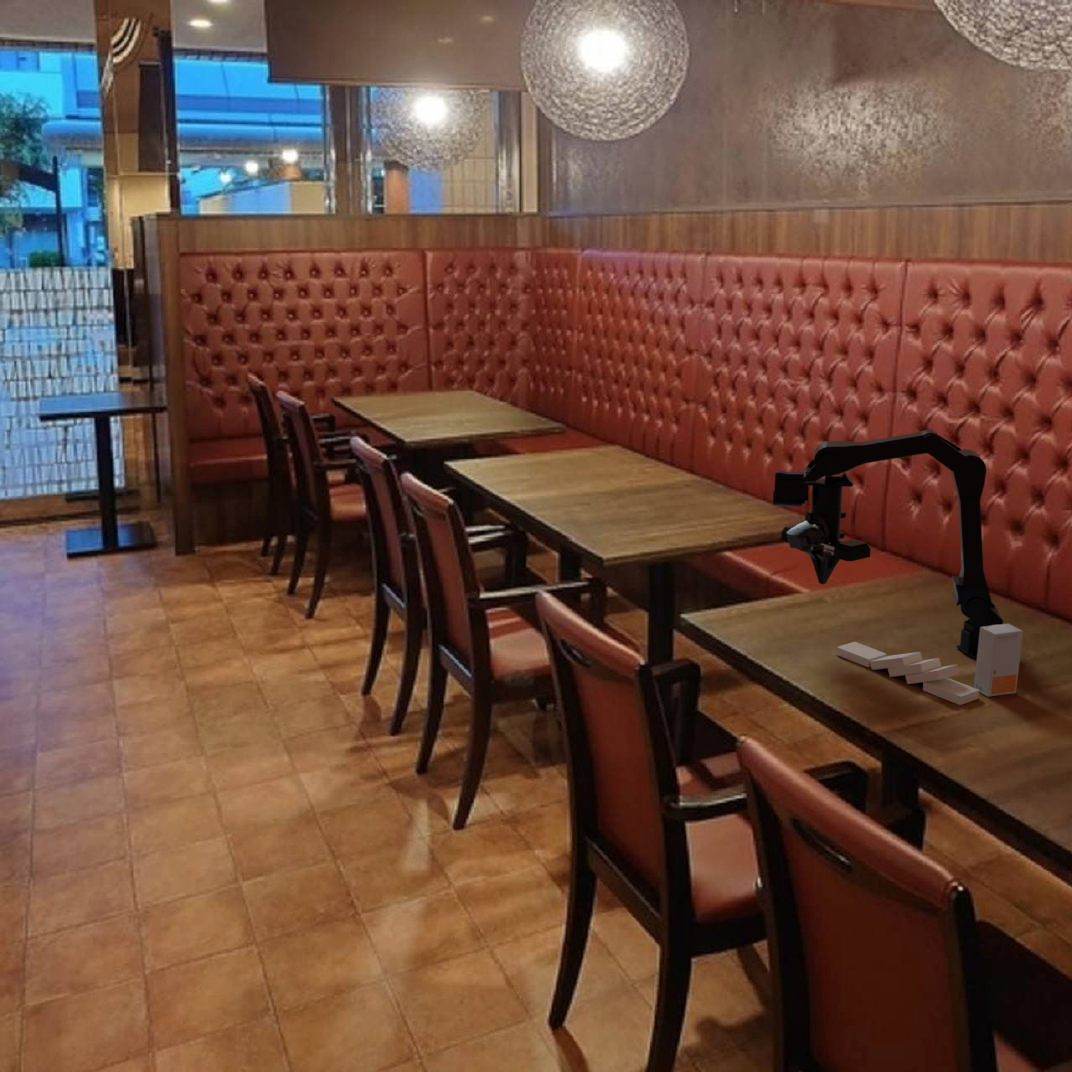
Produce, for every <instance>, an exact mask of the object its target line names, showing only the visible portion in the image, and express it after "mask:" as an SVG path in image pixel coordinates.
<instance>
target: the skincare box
mask: <svg viewBox="0 0 1072 1072" xmlns="http://www.w3.org/2000/svg"><path fill="white" fill-rule="evenodd" d="M1023 636H1024V631H1023V630H1022V629H1020V628H1018V627H1016V626H1015V625H1012V624H1010V623H1002V624H1001V625H991V626H985V627H980V634H979V643H978V653H977V659H976V665H975V673H974V683H973V688H975V689H978V690H979V693H980V694H982V695H984V696H986V697H988V698H989V697H997V696H1003V695H1009V694H1010V695H1011V694H1016V693H1017V687H1018V677H1019V671H1020V670H1019V668H1020V663H1021V661H1020V660H1021V653H1022V643H1023Z"/></svg>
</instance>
